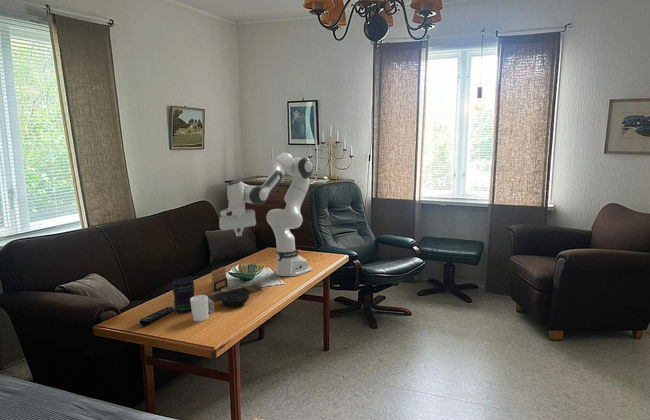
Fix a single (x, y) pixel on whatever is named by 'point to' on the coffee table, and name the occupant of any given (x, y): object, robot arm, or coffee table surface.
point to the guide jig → (215, 296)
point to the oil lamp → (234, 297)
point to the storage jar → (183, 294)
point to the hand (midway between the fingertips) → (239, 235)
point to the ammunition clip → (219, 279)
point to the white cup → (199, 307)
